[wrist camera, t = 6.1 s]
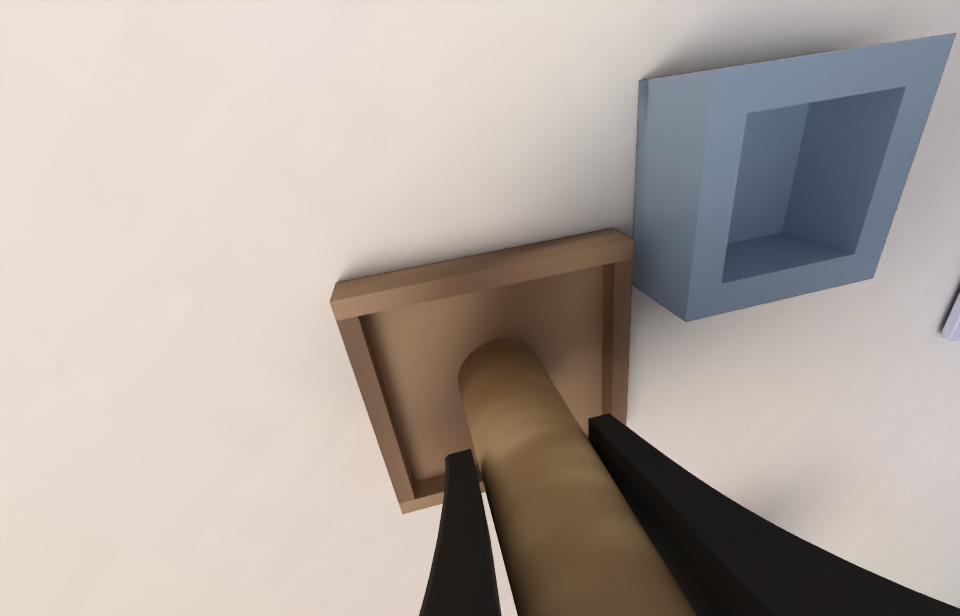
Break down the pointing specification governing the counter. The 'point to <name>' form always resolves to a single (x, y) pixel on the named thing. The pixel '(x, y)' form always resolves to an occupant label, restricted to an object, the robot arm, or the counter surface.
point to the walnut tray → (484, 342)
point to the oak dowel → (556, 498)
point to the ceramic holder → (776, 173)
